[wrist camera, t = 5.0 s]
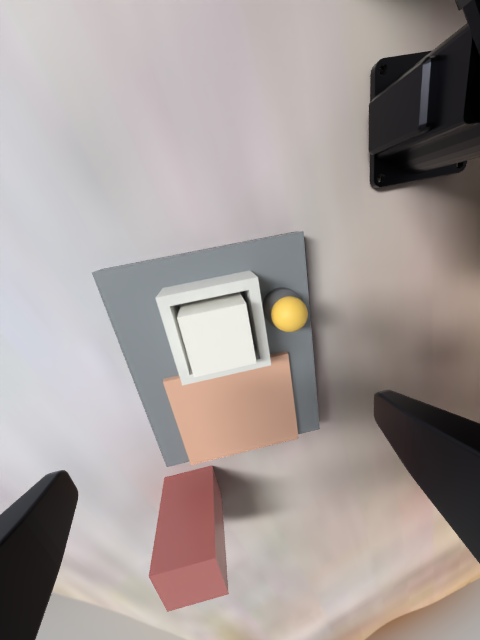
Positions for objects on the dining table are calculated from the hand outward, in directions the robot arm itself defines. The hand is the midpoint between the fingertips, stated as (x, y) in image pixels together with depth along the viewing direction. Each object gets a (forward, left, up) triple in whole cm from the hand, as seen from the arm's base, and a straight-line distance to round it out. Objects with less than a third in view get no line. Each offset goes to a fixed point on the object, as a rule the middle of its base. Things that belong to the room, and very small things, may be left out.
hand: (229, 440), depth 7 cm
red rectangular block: (+5, +16, -12) cm, 21 cm away
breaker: (0, 0, -10) cm, 10 cm away
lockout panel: (0, +3, -12) cm, 12 cm away
